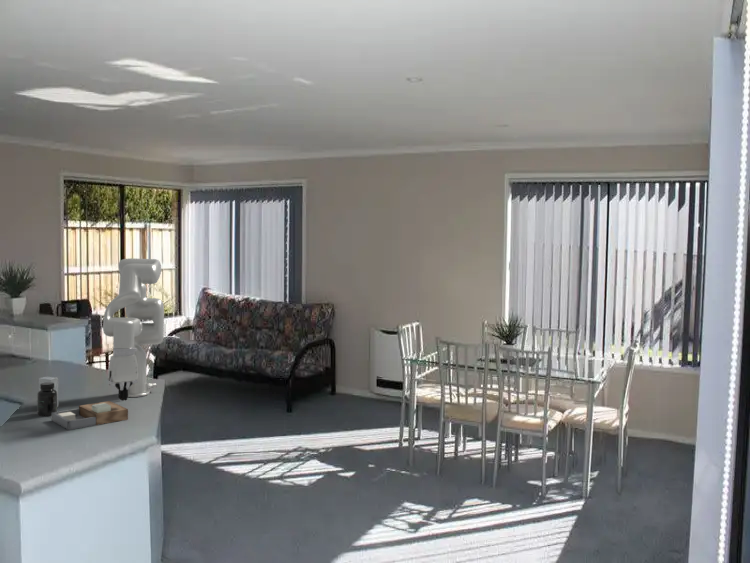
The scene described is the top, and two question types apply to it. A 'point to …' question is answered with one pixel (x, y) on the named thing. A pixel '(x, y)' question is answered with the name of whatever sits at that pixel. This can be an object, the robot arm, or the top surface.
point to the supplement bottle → (46, 399)
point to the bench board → (104, 413)
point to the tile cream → (68, 415)
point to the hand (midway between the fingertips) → (123, 399)
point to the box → (73, 424)
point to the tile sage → (101, 408)
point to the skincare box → (50, 379)
